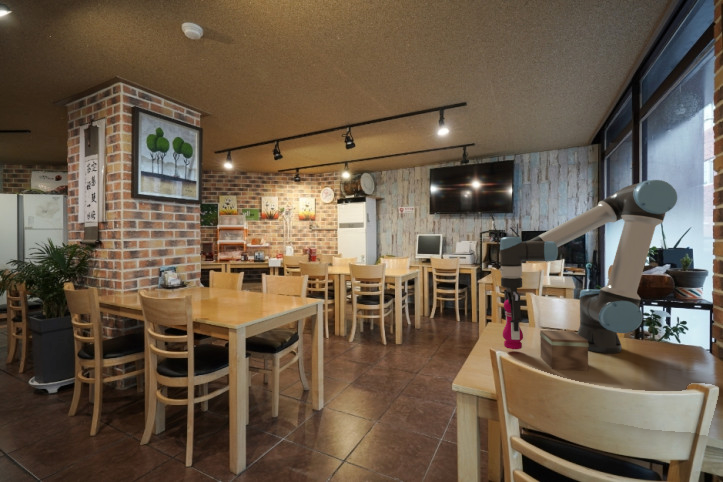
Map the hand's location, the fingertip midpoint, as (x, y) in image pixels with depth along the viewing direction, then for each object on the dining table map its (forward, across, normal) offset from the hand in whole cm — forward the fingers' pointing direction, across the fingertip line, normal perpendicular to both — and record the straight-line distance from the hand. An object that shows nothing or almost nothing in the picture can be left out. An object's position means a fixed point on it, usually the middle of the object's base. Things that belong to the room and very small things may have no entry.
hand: (512, 336), depth 128 cm
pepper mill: (+4, 0, 0) cm, 4 cm away
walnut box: (+6, +10, +14) cm, 18 cm away
